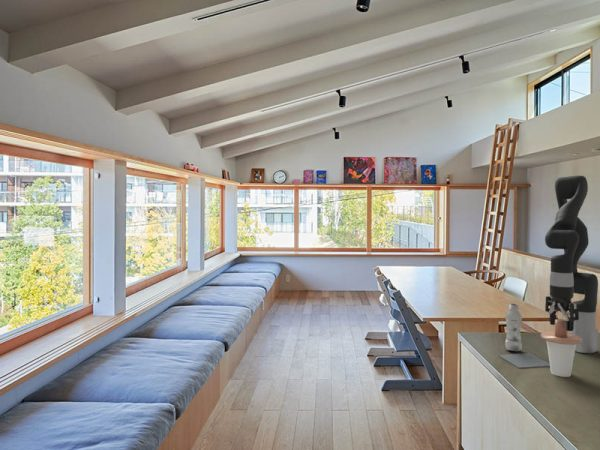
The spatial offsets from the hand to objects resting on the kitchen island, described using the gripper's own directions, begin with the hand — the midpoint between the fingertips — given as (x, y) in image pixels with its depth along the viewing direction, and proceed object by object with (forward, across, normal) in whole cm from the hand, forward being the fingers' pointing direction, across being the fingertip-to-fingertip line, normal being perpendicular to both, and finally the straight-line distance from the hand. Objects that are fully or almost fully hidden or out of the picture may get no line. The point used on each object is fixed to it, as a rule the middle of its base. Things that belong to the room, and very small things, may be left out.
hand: (561, 327), depth 160 cm
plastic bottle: (+17, +26, +2) cm, 31 cm away
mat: (+17, +14, +5) cm, 23 cm away
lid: (+4, 0, 0) cm, 4 cm away
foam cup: (+17, 0, 0) cm, 17 cm away
